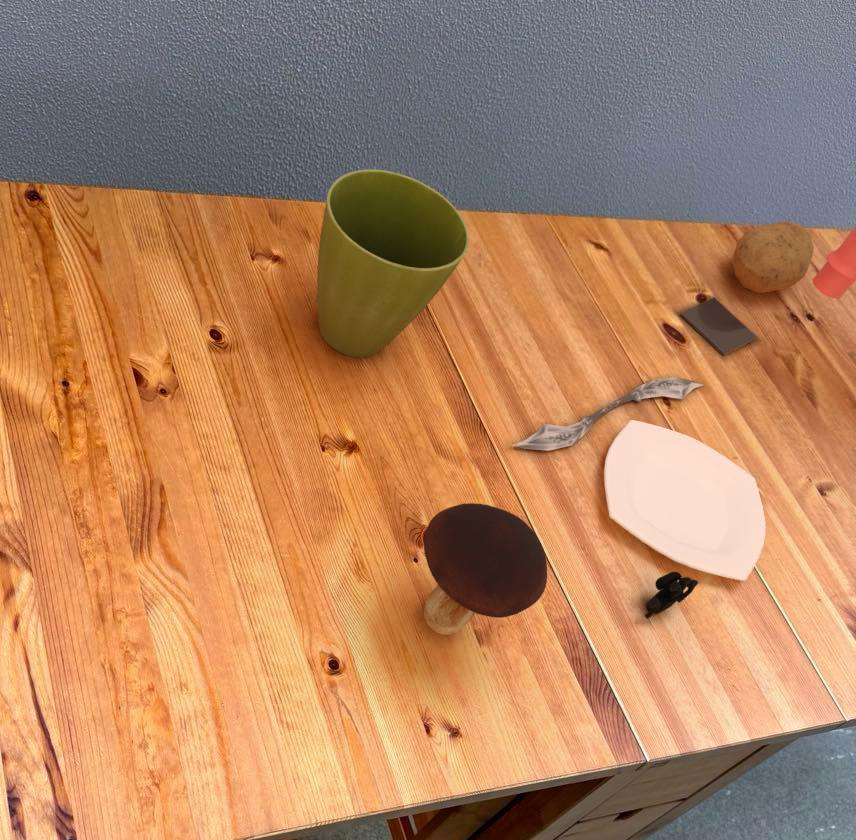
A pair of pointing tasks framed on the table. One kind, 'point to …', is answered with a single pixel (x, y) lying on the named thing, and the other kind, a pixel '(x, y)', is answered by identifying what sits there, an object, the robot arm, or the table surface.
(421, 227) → the flower pot
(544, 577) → the decorative mushroom
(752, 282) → the potato
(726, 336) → the coaster
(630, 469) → the plate
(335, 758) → the table surface
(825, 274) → the figurine
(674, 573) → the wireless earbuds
